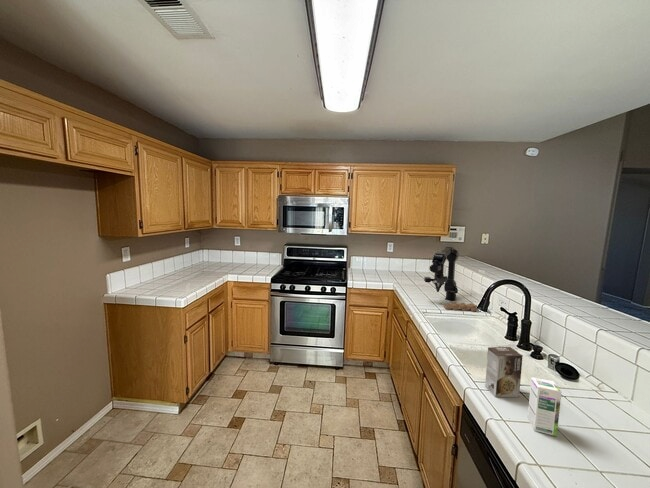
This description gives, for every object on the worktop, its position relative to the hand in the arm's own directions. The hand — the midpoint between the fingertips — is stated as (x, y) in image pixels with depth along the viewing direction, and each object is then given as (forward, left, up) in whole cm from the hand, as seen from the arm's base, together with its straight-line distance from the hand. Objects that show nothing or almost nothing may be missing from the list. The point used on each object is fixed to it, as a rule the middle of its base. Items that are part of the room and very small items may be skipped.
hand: (437, 292), depth 189 cm
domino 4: (+17, +15, -11) cm, 25 cm away
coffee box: (+64, -68, -12) cm, 94 cm away
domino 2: (+8, +7, -11) cm, 15 cm away
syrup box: (+78, -77, -12) cm, 110 cm away
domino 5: (+19, +17, -12) cm, 28 cm away
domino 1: (+4, +3, -11) cm, 12 cm away
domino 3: (+12, +11, -11) cm, 19 cm away
